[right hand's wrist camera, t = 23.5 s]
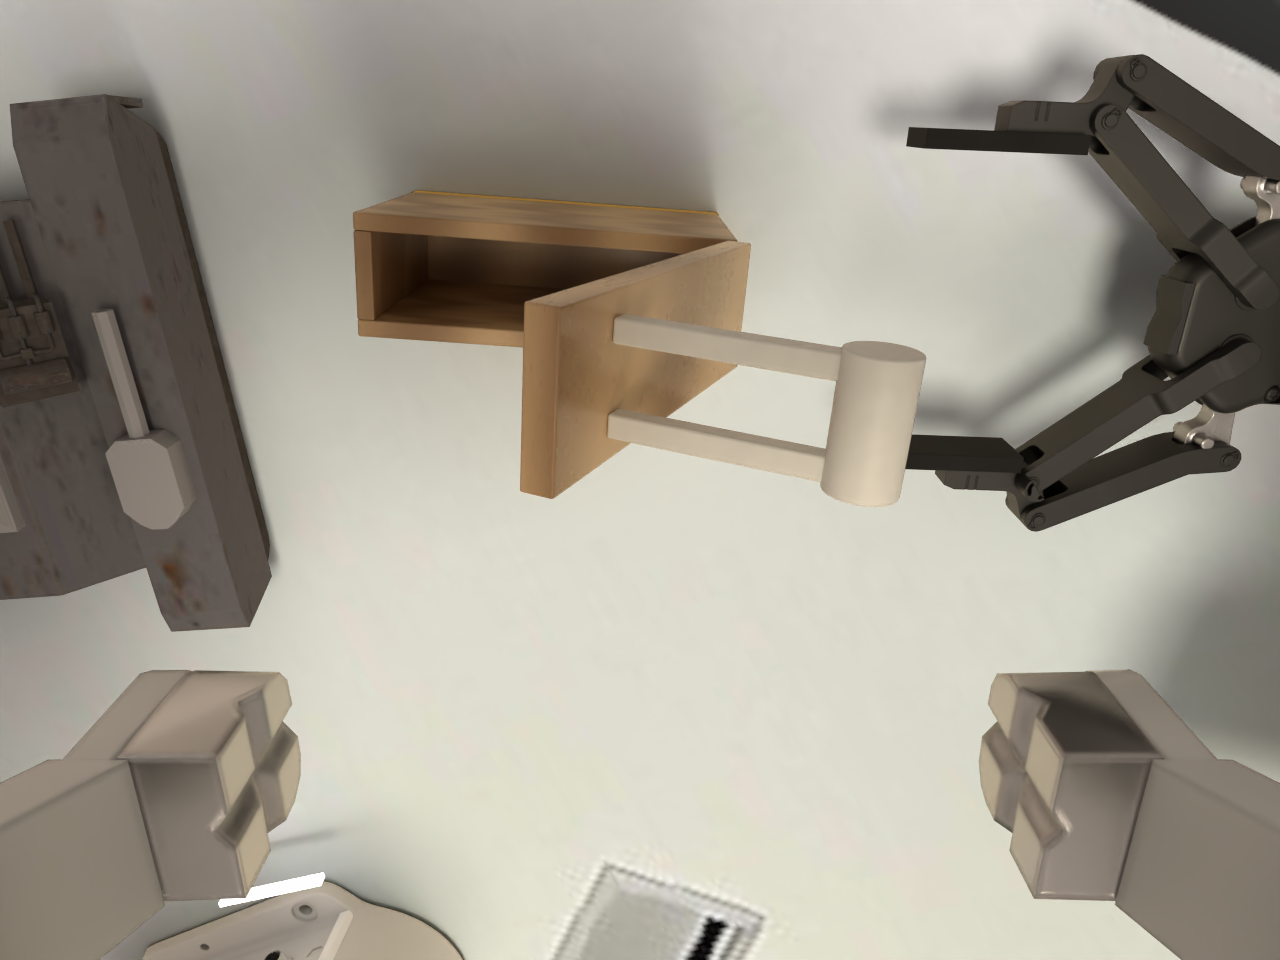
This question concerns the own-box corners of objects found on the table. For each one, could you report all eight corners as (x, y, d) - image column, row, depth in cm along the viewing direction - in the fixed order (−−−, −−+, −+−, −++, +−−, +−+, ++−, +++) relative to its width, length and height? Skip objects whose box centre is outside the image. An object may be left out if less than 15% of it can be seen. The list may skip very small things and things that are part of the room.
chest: (418, 289, 46) (357, 336, 36) (416, 190, 44) (351, 211, 34) (707, 309, 46) (725, 362, 36) (716, 212, 44) (738, 239, 34)
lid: (518, 492, 22) (873, 576, 20) (523, 301, 21) (913, 362, 18) (714, 363, 36) (942, 401, 33) (727, 240, 34) (969, 269, 31)
